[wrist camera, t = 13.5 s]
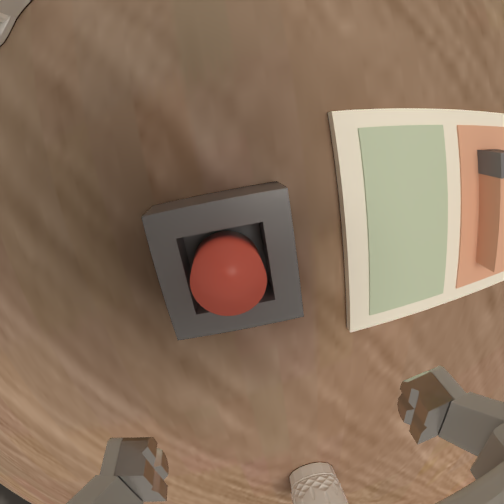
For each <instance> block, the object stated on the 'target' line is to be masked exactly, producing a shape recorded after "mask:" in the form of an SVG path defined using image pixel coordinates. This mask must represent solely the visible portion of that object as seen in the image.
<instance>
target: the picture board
mask: <svg viewBox="0 0 504 504" xmlns="http://www.w3.org/2000/svg"><path fill="white" fill-rule="evenodd" d="M328 118H329V125H330V131H331V138H332V145H333V152H334V160H335V168H336V176H337V185H338V194H339V203H340V214H341V225H342V237H343V251H344V267H345V286H346V314H347V328H348V330H349V331H350V332H354V331H358V330H361V329H365V328H368V327H372V326H375V325H379V324H382V323H386V322H389V321H392V320H395V319H399V318H402V317H405V316H408V315H411V314H414V313H418V312H421V311H424V310H427V309H429V308H432V307H435V306H438V305H441V304H444V303H447V302H449V301H452V300H455V299H458V298H460V297H463V296H466V295H468V294H471V293H474V292H476V291H479V290H481V289H484V288H486V287H489V286H491V285H494V284H496V283H499V282H501V281H503V280H504V269H502V270H500V271H497V272H495V273H494V272H492V271H491V270H489V269H487V268H485V267H484V266H482V265H480V264H479V263H477V262H476V253H477V240H478V223H479V173H478V155H477V150H485V149H500V150H504V114H503V113H493V112H483V111H470V110H454V109H425V108H392V109H361V110H344V111H331V112H328Z"/></svg>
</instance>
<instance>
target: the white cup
mask: <svg viewBox="0 0 504 504" xmlns="http://www.w3.org/2000/svg"><path fill="white" fill-rule="evenodd" d="M289 478H290V484H291V495H292V502H293V504H349V503H348V501H347V498H346V496H345V493H344V491H343V489H342V487H341V484H340V482H339V480H338V479H337V477H336V474H335V472H334V469H333V467H332V466H331V465H330V464H328V463H323V462H317V463H311V464H307V465H304V466H302V467H300V468H298V469H296V470H295V471H293V472H292V474H291V475H290V476H289Z"/></svg>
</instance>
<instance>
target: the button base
mask: <svg viewBox="0 0 504 504" xmlns="http://www.w3.org/2000/svg"><path fill="white" fill-rule="evenodd" d="M142 221H143V225H144V229H145V233H146V237H147V241H148V244H149V248H150V252H151V255H152V259H153V262H154V266H155V269H156V273H157V276H158V280H159V283H160V286H161V290H162V293H163V296H164V299H165V303H166V306H167V309H168V312H169V315H170V318H171V321H172V324H173V327H174V330H175V333H176V336H177V339H178V340H183V339H189V338H195V337H202V336H207V335H213V334H219V333H225V332H230V331H236V330H241V329H246V328H251V327H256V326H261V325H266V324H271V323H276V322H281V321H286V320H290V319H295V318H299V317H304V314H303V305H302V296H301V287H300V278H299V270H298V262H297V254H296V246H295V238H294V230H293V223H292V216H291V208H290V201H289V194H288V188H287V187H285V186H284V185H282V184H281V183H279V182H277V181H276V182H270V183H264V184H258V185H252V186H247V187H241V188H236V189H231V190H225V191H220V192H215V193H210V194H205V195H200V196H195V197H190V198H186V199H181V200H176V201H172V202H167V203H163V204H158V205H154V206H152V207H151V208H150V209H149V210H148V211H147V212H146V213H145V214H144V215H143V216H142ZM220 231H234V232H238V233H241V234H243V235H245V236H246V237H248V238H249V239H250V240H251V241H252V242H253V243H254V244H255V246H256V247H257V249H258V252H259V254H260V257H261V260H262V262H263V265H264V268H265V270H266V274H267V286H266V290H265V293H264V295H263V297H262V298H261V300H260V301H259V302H258V304H257V305H255V306H254V307H253V308H252V309H250V310H249V311H247V312H245V313H242V314H239V315H234V316H221V315H217V314H214V313H211V312H209V311H207V310H206V309H204V308H203V307H202V306H201V305H200V304H199V303H198V302H197V301H196V299H195V298H194V296H193V294H192V291H191V287H190V274H191V269H192V264H193V259H194V255H195V252H196V249H197V247H198V246H199V244H200V243H201V242H202V241H203V240H204V239H205V238H206V237H208V236H209V235H211V234H214V233H216V232H220Z"/></svg>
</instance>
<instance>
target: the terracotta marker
mask: <svg viewBox="0 0 504 504" xmlns="http://www.w3.org/2000/svg"><path fill="white" fill-rule="evenodd" d="M477 155H478V173H479V223H478V240H477V253H476V262H477V263H479V264H480V265H482V266H484V267H485V268H487V269H489V270H491V271H492V272H494V273H495V272H497V271H500V270H502V269H504V150H500V149H485V150H477Z"/></svg>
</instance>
